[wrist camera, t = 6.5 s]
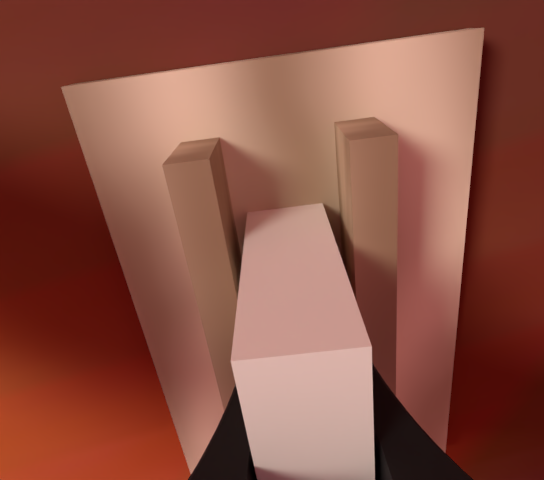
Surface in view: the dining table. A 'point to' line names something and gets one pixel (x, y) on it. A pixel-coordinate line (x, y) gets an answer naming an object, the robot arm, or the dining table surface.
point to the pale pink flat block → (301, 352)
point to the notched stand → (291, 201)
